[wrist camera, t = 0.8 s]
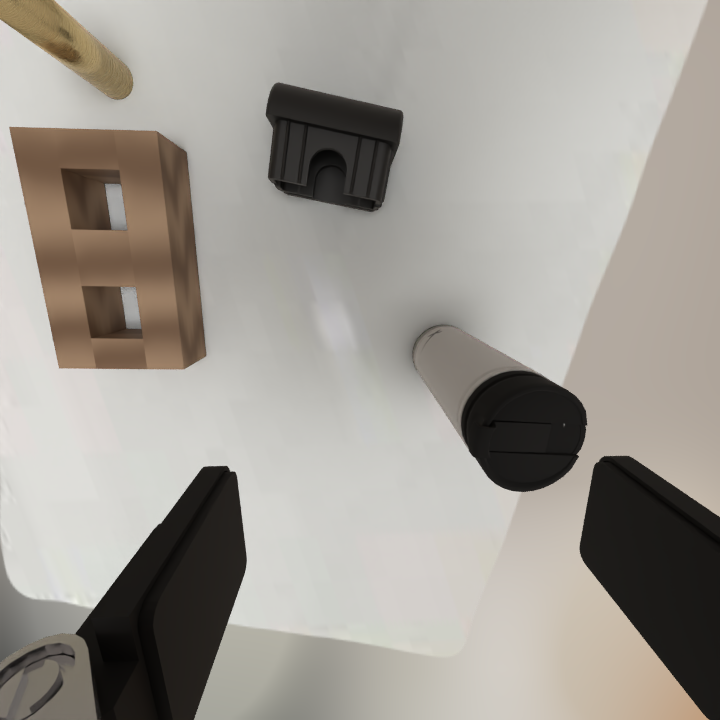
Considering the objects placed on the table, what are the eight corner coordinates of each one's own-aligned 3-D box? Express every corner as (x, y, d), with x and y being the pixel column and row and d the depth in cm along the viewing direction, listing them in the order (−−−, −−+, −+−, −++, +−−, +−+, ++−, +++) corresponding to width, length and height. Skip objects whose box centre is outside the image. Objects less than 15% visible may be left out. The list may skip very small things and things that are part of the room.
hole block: (61, 149, 31) (9, 126, 26) (186, 152, 32) (156, 131, 27) (98, 354, 36) (59, 368, 31) (206, 356, 36) (183, 369, 32)
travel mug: (412, 322, 36) (484, 383, 17) (475, 327, 36) (617, 392, 17) (405, 379, 38) (463, 496, 18) (465, 383, 38) (586, 503, 19)
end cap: (396, 131, 32) (408, 96, 25) (381, 214, 33) (388, 200, 27) (286, 107, 31) (270, 63, 24) (276, 192, 33) (258, 173, 26)
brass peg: (94, 58, 30) (-50, -61, 19) (130, 59, 30) (7, -58, 19) (100, 98, 30) (-35, 7, 20) (135, 100, 31) (19, 9, 20)
